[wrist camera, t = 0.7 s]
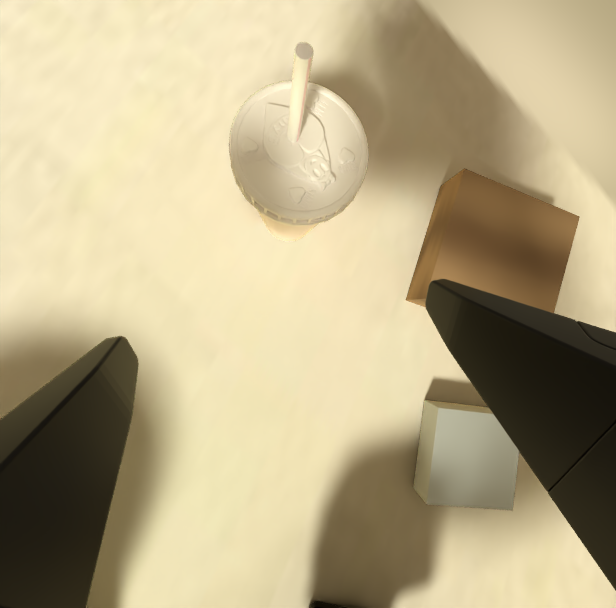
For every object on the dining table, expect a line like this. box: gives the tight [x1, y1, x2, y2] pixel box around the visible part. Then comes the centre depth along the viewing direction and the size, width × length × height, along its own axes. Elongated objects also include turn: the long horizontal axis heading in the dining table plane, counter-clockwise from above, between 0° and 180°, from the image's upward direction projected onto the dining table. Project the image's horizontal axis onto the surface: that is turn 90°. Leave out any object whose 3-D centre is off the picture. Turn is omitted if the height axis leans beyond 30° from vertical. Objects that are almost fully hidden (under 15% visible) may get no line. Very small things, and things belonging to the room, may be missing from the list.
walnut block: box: [406, 169, 579, 313], centre depth 23 cm, size 10×10×3 cm
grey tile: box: [413, 400, 519, 510], centre depth 23 cm, size 7×7×2 cm
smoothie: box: [229, 42, 369, 242], centre depth 16 cm, size 6×6×14 cm
